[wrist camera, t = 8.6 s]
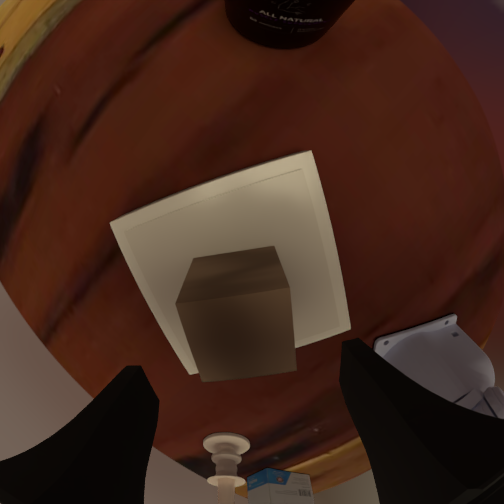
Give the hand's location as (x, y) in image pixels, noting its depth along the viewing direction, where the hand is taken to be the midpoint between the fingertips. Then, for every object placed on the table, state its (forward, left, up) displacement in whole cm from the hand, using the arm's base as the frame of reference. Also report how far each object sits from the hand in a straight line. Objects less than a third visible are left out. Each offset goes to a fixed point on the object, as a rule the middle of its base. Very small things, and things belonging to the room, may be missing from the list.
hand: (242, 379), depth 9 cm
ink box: (0, +34, -10) cm, 35 cm away
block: (0, 0, -7) cm, 7 cm away
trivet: (0, 0, -10) cm, 10 cm away
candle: (+5, +21, -10) cm, 24 cm away
